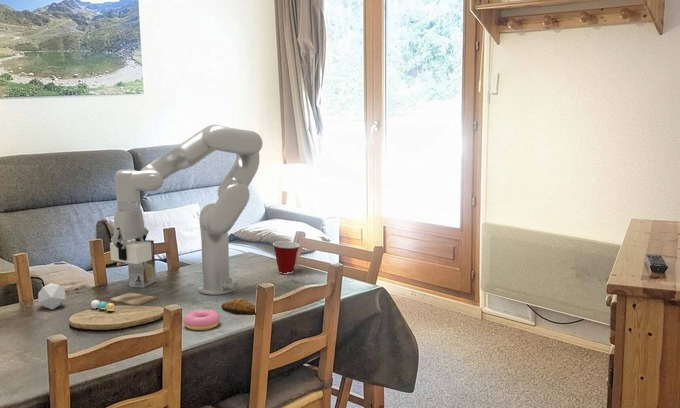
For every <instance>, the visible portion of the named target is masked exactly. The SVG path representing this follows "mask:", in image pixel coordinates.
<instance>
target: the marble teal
mask: <svg viewBox="0 0 680 408" xmlns="http://www.w3.org/2000/svg"><path fill="white" fill-rule="evenodd" d="M99 302H100V303H99V304H98V309H99V308H105V307H106V305H107V304H108V303H107V302H106V301H103V300H102V301H99Z"/></svg>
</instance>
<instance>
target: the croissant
mask: <svg viewBox="0 0 680 408" xmlns="http://www.w3.org/2000/svg"><path fill="white" fill-rule="evenodd" d="M255 306H256V305H254V304H253V303H252V302H249V301H248V300H247V299H244V298H242V297H237V298H234V299H232V300H228V301H225V302H224V303H222V304H221V309H222V310H224V311H226V312H230V313H234V314H244V315H255Z"/></svg>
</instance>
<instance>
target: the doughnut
mask: <svg viewBox="0 0 680 408" xmlns="http://www.w3.org/2000/svg"><path fill="white" fill-rule="evenodd" d="M220 320H221V316H220V314H219V312H217V311H215V310H212V309H196V310H192V311H190V312H188V313H186V314H185V316H184V317H183V323H184V326H185V327H186V328H188V329H189V330H192V331H207V330H210V329H214V328H216V327H217V326H218V325H219V323H220Z"/></svg>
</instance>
